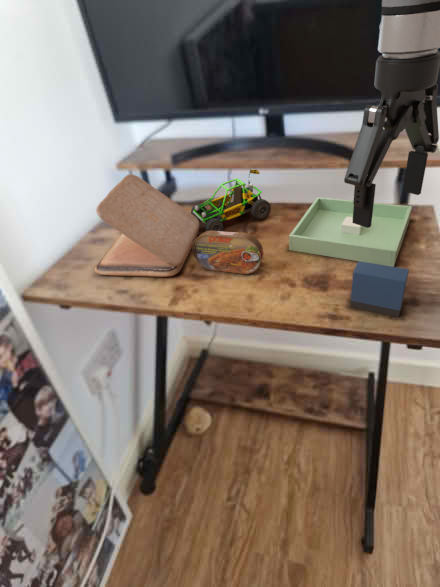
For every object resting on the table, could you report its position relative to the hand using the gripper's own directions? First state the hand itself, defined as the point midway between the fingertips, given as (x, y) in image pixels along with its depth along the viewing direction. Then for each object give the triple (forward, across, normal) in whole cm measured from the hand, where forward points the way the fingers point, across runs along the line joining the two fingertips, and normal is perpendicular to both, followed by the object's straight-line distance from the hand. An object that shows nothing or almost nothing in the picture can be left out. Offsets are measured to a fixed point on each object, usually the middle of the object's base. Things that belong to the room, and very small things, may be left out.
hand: (387, 207), depth 63 cm
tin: (+17, +12, -26) cm, 34 cm away
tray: (+16, -14, -15) cm, 26 cm away
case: (+17, +20, -46) cm, 53 cm away
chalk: (+16, -15, -16) cm, 27 cm away
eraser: (+16, +4, +2) cm, 17 cm away
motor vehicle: (+17, -2, -43) cm, 46 cm away
